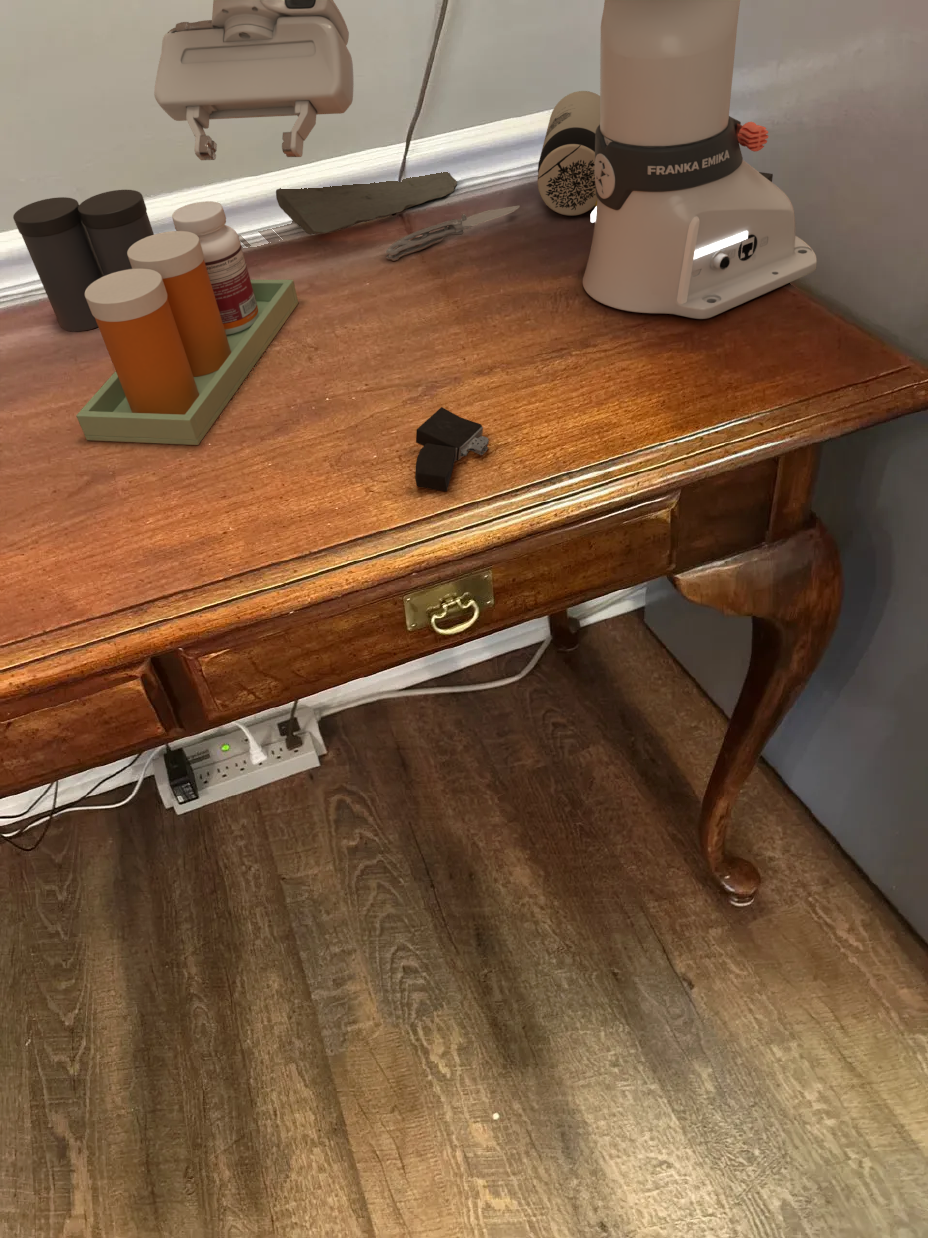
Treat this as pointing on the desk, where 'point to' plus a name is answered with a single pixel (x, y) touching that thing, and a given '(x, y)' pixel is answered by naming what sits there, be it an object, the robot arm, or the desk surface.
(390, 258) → the knife
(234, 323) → the pill bottle
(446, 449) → the lighter
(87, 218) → the grey canister
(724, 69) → the robot arm
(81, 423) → the tray
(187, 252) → the bottle
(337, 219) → the stone slab
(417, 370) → the desk surface
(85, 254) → the grey canister
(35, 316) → the desk surface
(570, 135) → the travel mug
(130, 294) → the bottle
